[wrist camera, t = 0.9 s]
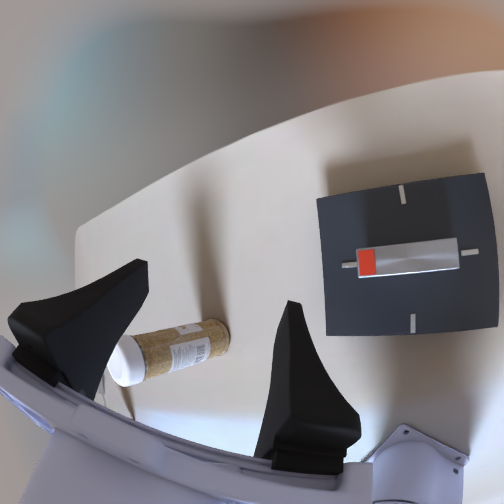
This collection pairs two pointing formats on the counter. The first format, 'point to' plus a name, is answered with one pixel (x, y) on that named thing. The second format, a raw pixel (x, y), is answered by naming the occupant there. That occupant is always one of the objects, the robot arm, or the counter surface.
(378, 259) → the tap handle
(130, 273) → the robot arm
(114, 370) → the sprinkles bottle
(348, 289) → the base
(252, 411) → the counter surface
